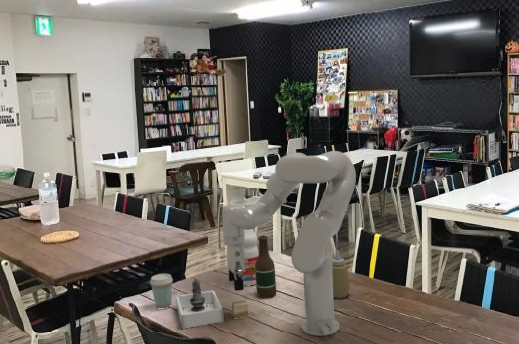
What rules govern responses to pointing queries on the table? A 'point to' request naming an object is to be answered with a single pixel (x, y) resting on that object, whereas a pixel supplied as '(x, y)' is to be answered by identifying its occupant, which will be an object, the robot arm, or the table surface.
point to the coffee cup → (162, 290)
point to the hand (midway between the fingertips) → (236, 285)
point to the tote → (200, 317)
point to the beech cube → (239, 308)
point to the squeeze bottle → (340, 277)
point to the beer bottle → (265, 271)
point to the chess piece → (197, 297)
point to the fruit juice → (250, 257)
